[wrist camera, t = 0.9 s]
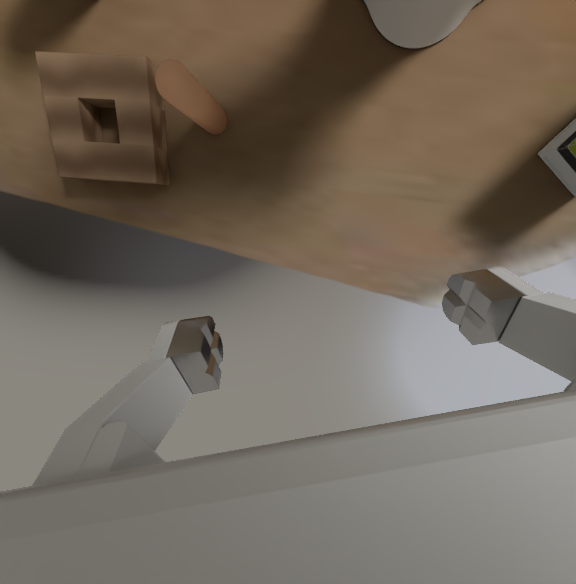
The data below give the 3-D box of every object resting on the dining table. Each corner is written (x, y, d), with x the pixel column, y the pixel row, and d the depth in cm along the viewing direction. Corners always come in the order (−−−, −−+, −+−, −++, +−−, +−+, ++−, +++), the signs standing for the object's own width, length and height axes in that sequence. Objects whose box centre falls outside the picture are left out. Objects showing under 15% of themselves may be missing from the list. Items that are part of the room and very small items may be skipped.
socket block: (61, 66, 40) (34, 51, 36) (161, 71, 39) (145, 56, 35) (80, 179, 45) (59, 176, 41) (169, 185, 44) (156, 183, 40)
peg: (201, 104, 40) (153, 58, 28) (227, 105, 40) (190, 60, 27) (202, 133, 41) (157, 102, 29) (227, 135, 41) (191, 104, 29)
